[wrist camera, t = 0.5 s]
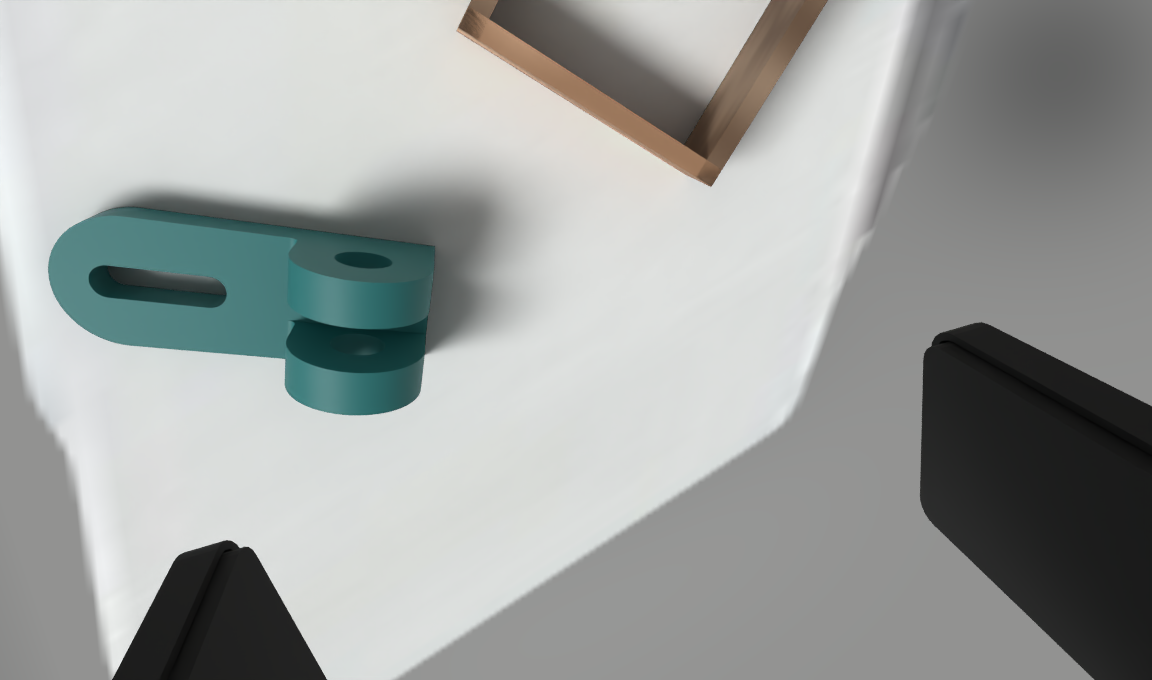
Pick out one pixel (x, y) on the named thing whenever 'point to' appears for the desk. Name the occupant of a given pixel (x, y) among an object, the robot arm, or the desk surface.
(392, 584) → the desk surface
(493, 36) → the brown angled open frame
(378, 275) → the bracket
